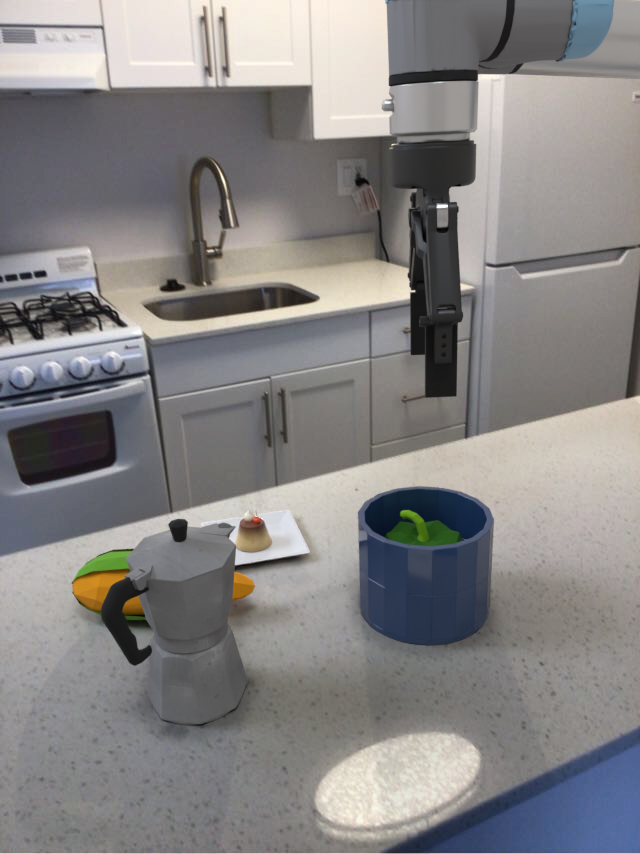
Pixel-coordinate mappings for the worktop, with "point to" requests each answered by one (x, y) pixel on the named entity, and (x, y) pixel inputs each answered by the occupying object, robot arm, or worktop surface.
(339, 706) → the worktop surface
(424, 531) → the bell pepper
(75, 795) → the worktop surface
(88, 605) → the corn
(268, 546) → the dessert
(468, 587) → the pot
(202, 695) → the coffeepot
